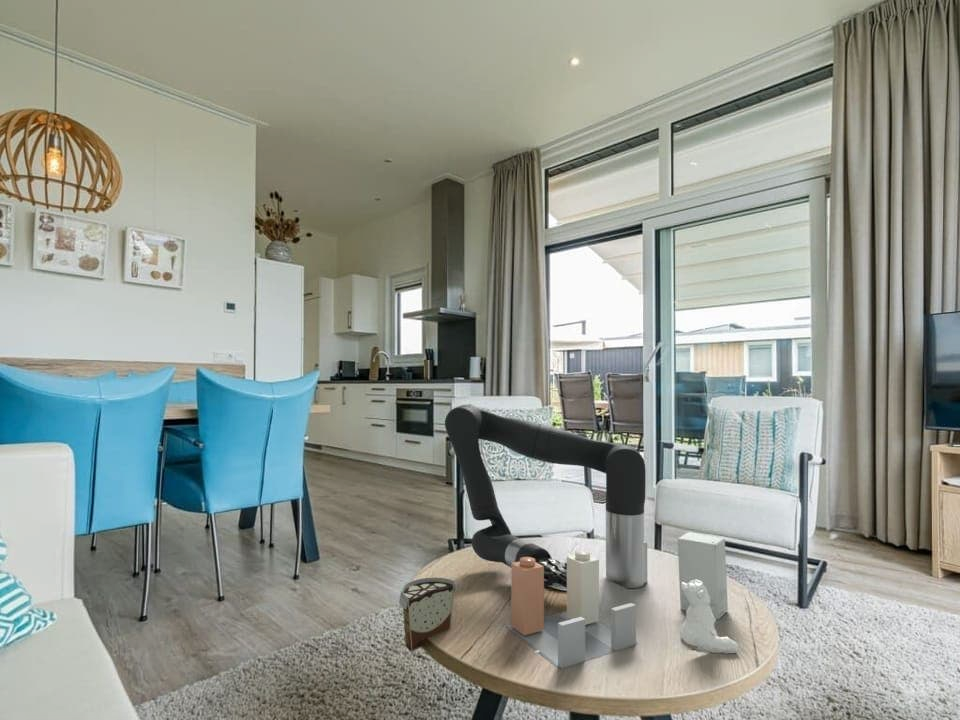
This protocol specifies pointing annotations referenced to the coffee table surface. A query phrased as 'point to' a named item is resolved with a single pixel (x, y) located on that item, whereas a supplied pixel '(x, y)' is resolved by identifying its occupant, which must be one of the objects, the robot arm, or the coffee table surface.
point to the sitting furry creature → (702, 622)
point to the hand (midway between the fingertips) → (575, 584)
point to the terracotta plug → (527, 596)
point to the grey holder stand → (582, 637)
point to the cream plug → (583, 587)
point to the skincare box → (704, 569)
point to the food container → (426, 608)
